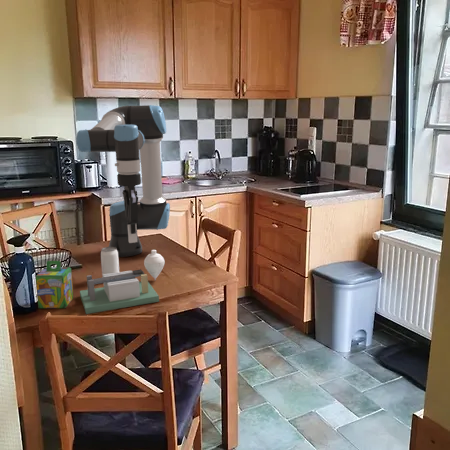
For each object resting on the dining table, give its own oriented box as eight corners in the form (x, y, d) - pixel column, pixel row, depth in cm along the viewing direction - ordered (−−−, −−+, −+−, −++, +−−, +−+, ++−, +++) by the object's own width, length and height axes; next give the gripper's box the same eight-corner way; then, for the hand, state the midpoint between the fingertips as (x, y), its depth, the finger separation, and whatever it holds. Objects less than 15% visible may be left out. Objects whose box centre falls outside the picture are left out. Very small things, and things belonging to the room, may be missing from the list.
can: (123, 276, 183) (121, 247, 180) (113, 282, 177) (111, 252, 174) (108, 275, 185) (106, 245, 182) (99, 280, 179) (96, 250, 176)
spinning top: (166, 282, 176) (165, 252, 173) (146, 285, 174) (144, 254, 171) (163, 275, 183) (162, 246, 180) (143, 278, 181) (142, 248, 178)
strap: (88, 282, 158) (87, 278, 157) (142, 272, 165) (142, 268, 164) (89, 285, 155) (89, 281, 154) (144, 275, 162) (144, 271, 161)
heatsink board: (80, 296, 164) (78, 271, 162) (147, 285, 173) (146, 262, 171) (86, 314, 150) (83, 287, 148) (159, 301, 159) (157, 276, 157)
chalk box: (38, 309, 154) (33, 266, 150) (47, 298, 163) (43, 257, 159) (66, 308, 154) (62, 266, 150) (74, 297, 163) (70, 257, 159)
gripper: (113, 171, 158) (118, 238, 164) (121, 176, 146) (125, 248, 152) (135, 169, 161) (139, 236, 166) (144, 174, 149) (148, 245, 155)
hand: (133, 241), depth 159 cm, fingers closed
